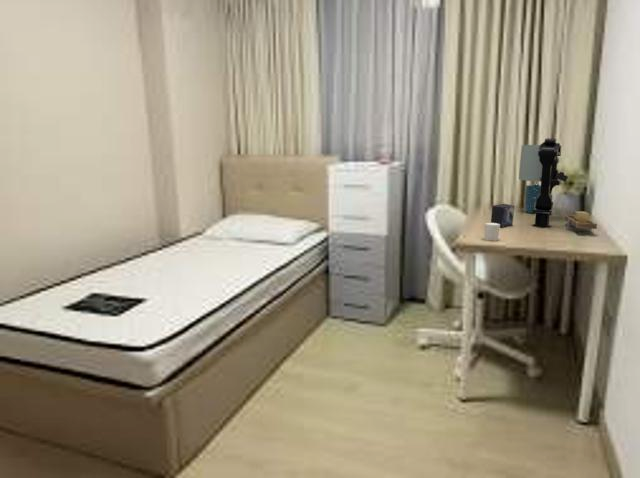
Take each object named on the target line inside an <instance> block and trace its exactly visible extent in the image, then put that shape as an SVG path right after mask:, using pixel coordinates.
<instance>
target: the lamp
mask: <svg viewBox="0 0 640 478" xmlns="http://www.w3.org/2000/svg"><path fill="white" fill-rule="evenodd" d="M540 145H541V144H522V145H521V149H520V159H519V161H520V162H519V172H518V180H521V181H526V182H533V184H528V185H526V186H525V191H524V211H525V212H526V213H529V214H533V213H532V211H533V204H534V203H535V201H536V200H537V197H538V196H539V194H540V191H541V184H540V183H541V181H540V178H541V177H542V164H541V163H540V161H539V156H538V151H539V147H540ZM557 157H558V158H559V156H557ZM536 210H537V209H536Z"/></svg>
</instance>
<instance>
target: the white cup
mask: <svg viewBox="0 0 640 478" xmlns="http://www.w3.org/2000/svg"><path fill="white" fill-rule="evenodd" d="M483 224H484V225H483V230H484V231H483V232H484V235H483V237H484V240H486V241H492V242H493V241H495V242H497V241H498V239H499V233H500V230H501V228H500V224H498V223H491V222H484V223H483Z"/></svg>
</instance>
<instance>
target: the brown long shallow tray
mask: <svg viewBox="0 0 640 478" xmlns="http://www.w3.org/2000/svg"><path fill="white" fill-rule="evenodd" d="M573 219H574V215H564V219H563V220H564V221H566V222H567V221H568V220H570V221H571V222H570V224H572V225H573V226H575V227H577V228H585V229H592V230H597V227H598V224H597V223H595V222H594V221H592V220H590V219H589V222H588V223H578V222H577V221H575V220H573Z"/></svg>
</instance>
